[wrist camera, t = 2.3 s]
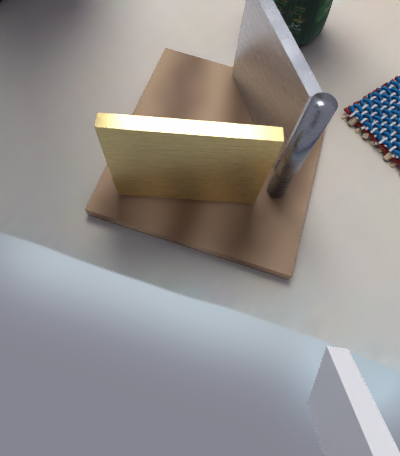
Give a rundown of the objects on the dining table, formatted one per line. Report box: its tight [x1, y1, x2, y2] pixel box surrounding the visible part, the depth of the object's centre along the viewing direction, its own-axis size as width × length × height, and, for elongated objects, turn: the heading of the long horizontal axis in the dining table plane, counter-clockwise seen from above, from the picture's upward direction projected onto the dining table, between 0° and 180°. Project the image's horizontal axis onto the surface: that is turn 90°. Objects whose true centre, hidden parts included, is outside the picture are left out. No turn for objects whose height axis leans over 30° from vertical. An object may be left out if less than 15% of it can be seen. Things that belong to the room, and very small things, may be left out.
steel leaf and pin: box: [232, 0, 338, 198], centre depth 32 cm, size 16×3×14 cm, turn 17°
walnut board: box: [85, 48, 324, 279], centre depth 36 cm, size 20×22×1 cm
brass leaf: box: [94, 113, 284, 204], centre depth 29 cm, size 13×1×10 cm, turn 87°
